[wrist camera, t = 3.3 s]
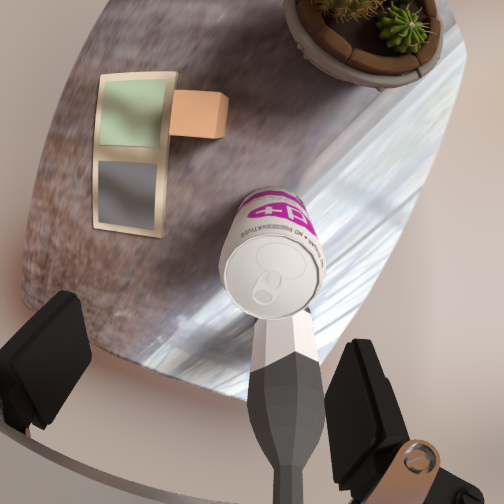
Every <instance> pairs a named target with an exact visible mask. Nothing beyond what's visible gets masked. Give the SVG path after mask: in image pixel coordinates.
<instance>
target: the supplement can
mask: <svg viewBox="0 0 504 504" xmlns="http://www.w3.org/2000/svg"><path fill="white" fill-rule="evenodd" d="M218 268H219V273H220V279H221V283H222V285H223V287H224V288H225V290H226V292H227V293H228V295H229V297H230V298H231V300H232V301H233V303H234V304H235V305H236V306H237V307H239V308H240V309H241V310H242V311H244V312H245V313H246V314H249V315H251V316H254V317H257V318H259V319H268V320H279V319H283V318H288V317H292V316H294V315H295V314H297V313H299V312H301V311H302V310H304V309H305V308H306V307H307V306H308V305H309V304H310V303H311V302H312V301H313V299H314V298H315V297H316V294H317V293H318V292H319V291H320V288H321V286H322V283H323V280H324V278H325V275H326V264H325V255H324V253H323V250H322V248H321V245H320V242H319V240H318V237H317V235H316V232H315V230H314V227H313V225H312V222H311V220H310V218H309V215H308V213H307V210H306V208H305V206H304V204H303V202H302V200H301V199H300V198H298V197H297V196H296V195H295V194H294V193H293V192H291V191H289V190H287V189H285V188H283V187H274V186H267V187H264V188H260V189H256V190H255V191H254V192H252V193H251V194H249V195H248V196H247V197H246V198H245V199H244V201H243V202H242V204H241V205H240V207H239V209H238V211H237V214H236V216H235V218H234V221H233V223H232V226H231V228H230V231H229V233H228V236H227V238H226V240H225V243H224V245H223V248H222V251H221V256H220V260H219V265H218Z"/></svg>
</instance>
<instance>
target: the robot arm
mask: <svg viewBox="0 0 504 504" xmlns="http://www.w3.org/2000/svg"><path fill="white" fill-rule="evenodd" d="M91 358H92V353H91V349H90V345H89V341H88V337H87V332H86V328H85V323H84V318H83V313H82V308H81V303H80V300H79V299H78V298H77V296H76V294H75V293H72V292H68V291H64V290H61V291H59V292H58V293H57V294H56V295H55V296H54V297H53V298H51V299H50V300H49V301H48V302H47V303H46V304H45V305H44V306H43V307H42V308H41V309H40V310H39V311H38V312H37V313H36V314H35V315H34V316H33V317H32V318H31V319H30V320H28V321H27V322H26V323H25V325H23V326H22V328H21V329H19V330H18V332H16V334H15V335H14V336H13V337H12V338H11V339H10V340H9V341H8V342H7V343H6V344H5V345H4V346H3V347H2V348H1V349H0V504H236V503H228V502H221V501H214V500H208V499H202V498H196V497H191V496H186V495H182V494H177V493H172V492H168V491H164V490H160V489H156V488H153V487H149V486H146V485H142V484H139V483H135V482H132V481H128V480H126V479H123V478H119V477H117V476H114V475H111V474H108V473H106V472H103V471H100V470H98V469H95V468H93V467H90V466H88V465H85V464H83V463H80V462H78V461H76V460H74V459H71V458H69V457H67V456H65V455H63V454H60V453H58V452H56V451H54V450H52V449H50V448H48V447H46V446H44V445H42V444H41V443H39V442H37V441H35V440H33V439H31V435H30V430H29V425H30V424H31V422H32V424H33V425H35V426H37V427H38V428H40V429H43V430H45V428H46V426H47V425H50V424H51V423H52V422H53V420H54V419H55V417H56V415H57V414H58V412H59V410H60V409H61V407H62V405H63V404H64V402H65V401H66V399H67V397H68V396H69V394H70V393H71V391H72V390H73V388H74V386H75V385H76V383H77V382H78V380H79V379H80V377H81V376H82V374H83V373H84V371H85V370H86V368H87V367H88V365H89V364H90V362H91ZM324 406H325V414H326V421H327V429H328V436H329V445H330V453H331V462H332V471H333V480H334V482H335V483H339V490H340V491H344V490H350V491H351V497H353V498H352V500H351V501H350V502H349V503H348V504H484V497H483V494H482V493H481V491H480V490H479V489H478V488H477V487H475V486H474V485H472V484H470V483H468V482H466V481H464V480H462V479H460V478H458V477H457V476H455V475H453V474H451V473H449V472H448V471H446V470H444V469H443V468H441V467H440V456H439V453H438V451H437V450H436V448H435V447H434V446H433V445H432V444H430V443H429V442H426V441H424V440H416V439H415V440H410V438H409V435H408V432H407V429H406V426H405V423H404V420H403V417H402V414H401V411H400V408H399V406H398V403H397V400H396V397H395V394H394V392H393V389H392V386H391V384H390V382H389V380H388V379H387V378H386V377H385V375H384V373H383V370H382V367H381V365H380V362H379V360H378V357H377V354H376V352H375V349H374V347H373V344H372V342H371V340H368V339H353V340H352V342H351V343H350V342H348V343H347V344H346V346H345V349H344V351H343V354H342V356H341V359H340V361H339V364H338V366H337V369H336V371H335V374H334V376H333V378H332V381H331V383H330V385H329V387H328V390H327V392H326V394H325V398H324Z"/></svg>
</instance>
